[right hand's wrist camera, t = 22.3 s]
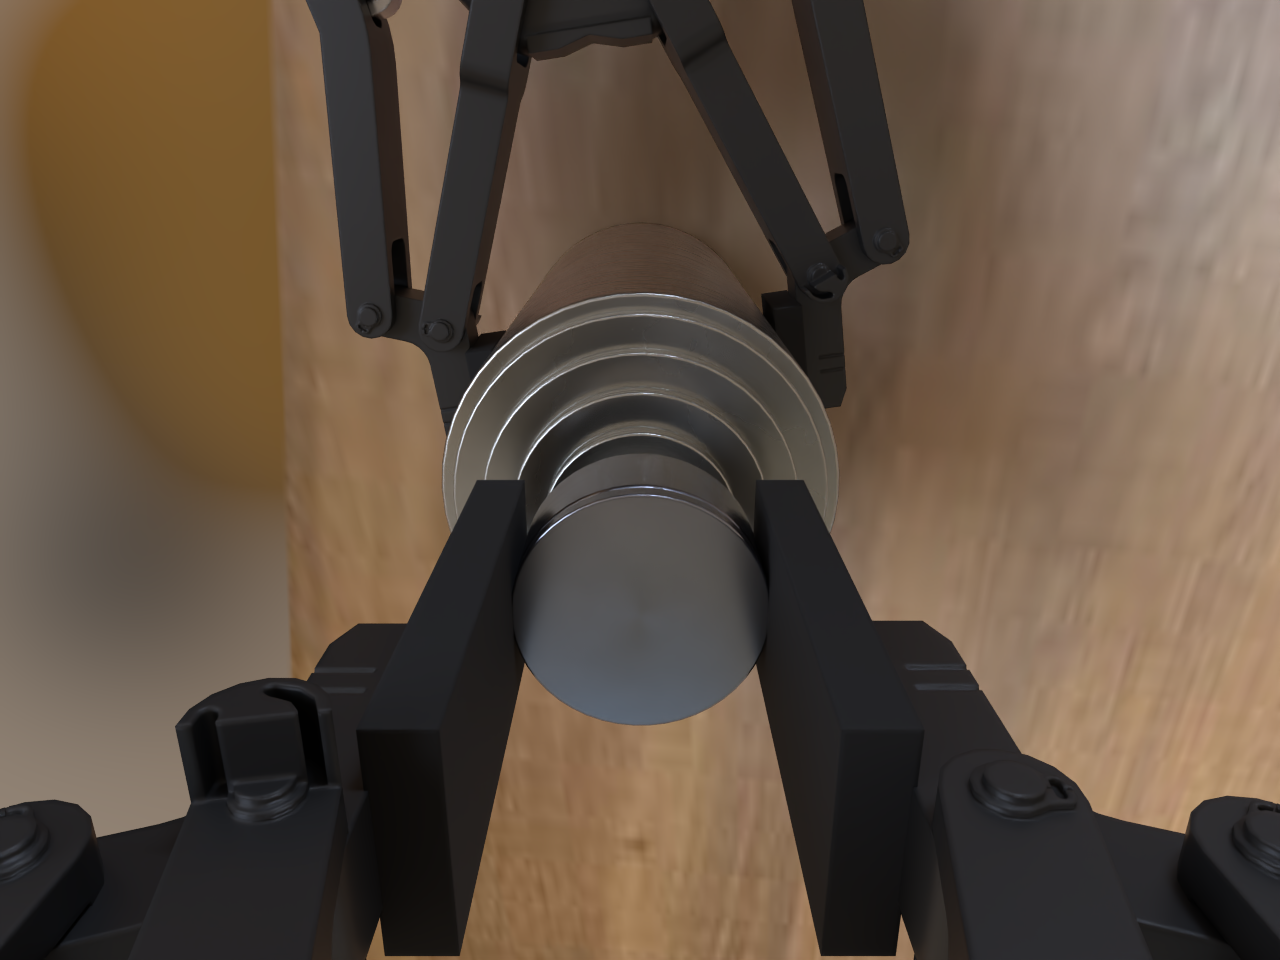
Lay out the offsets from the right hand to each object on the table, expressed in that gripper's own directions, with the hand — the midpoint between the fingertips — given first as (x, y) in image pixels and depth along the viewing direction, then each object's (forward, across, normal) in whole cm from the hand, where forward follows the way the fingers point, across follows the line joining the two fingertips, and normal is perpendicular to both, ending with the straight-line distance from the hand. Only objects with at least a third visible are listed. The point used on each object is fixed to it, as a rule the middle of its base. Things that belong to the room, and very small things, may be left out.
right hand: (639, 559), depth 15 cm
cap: (-2, 0, 0) cm, 2 cm away
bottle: (+18, 0, 0) cm, 18 cm away
